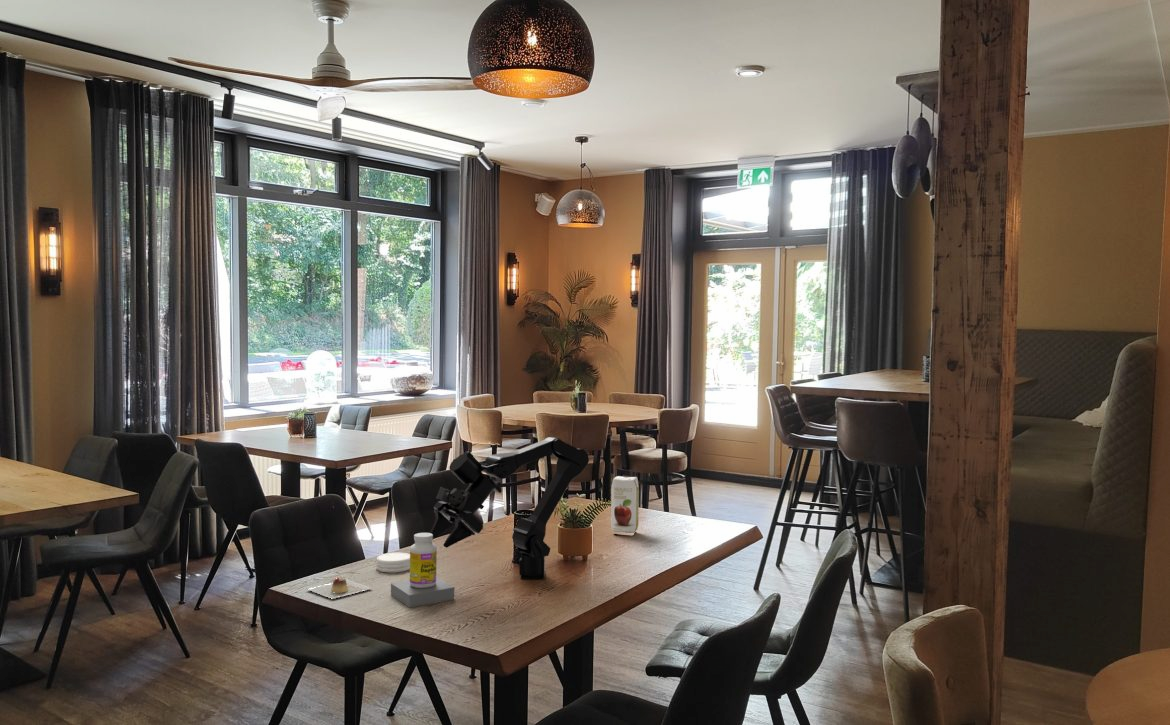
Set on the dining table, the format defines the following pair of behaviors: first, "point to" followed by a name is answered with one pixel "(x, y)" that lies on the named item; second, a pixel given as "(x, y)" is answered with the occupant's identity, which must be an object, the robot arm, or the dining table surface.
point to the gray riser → (422, 593)
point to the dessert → (340, 586)
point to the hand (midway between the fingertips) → (436, 542)
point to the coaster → (393, 562)
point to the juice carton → (624, 504)
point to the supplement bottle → (423, 561)
